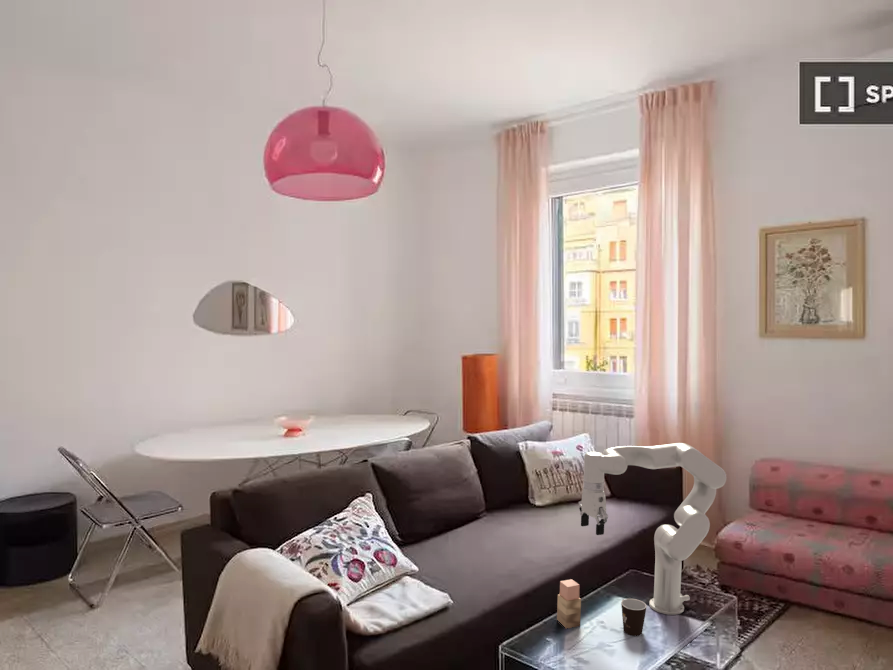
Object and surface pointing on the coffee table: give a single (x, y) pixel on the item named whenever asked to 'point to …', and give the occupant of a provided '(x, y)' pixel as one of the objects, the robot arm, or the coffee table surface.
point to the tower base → (568, 619)
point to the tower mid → (569, 605)
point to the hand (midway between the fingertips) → (592, 530)
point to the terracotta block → (569, 589)
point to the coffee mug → (633, 616)
